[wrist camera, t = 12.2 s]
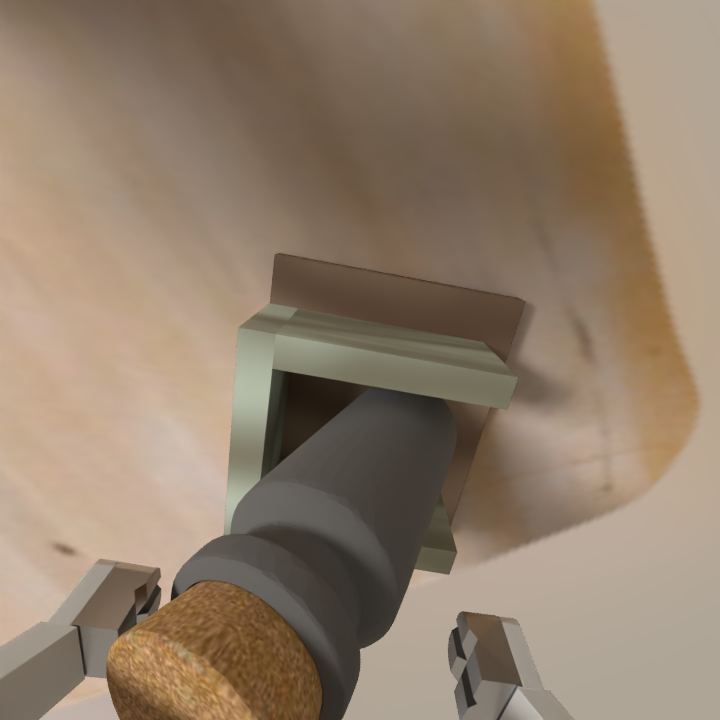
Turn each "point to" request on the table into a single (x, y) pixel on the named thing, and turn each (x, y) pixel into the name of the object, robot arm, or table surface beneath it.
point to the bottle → (296, 575)
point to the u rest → (366, 368)
